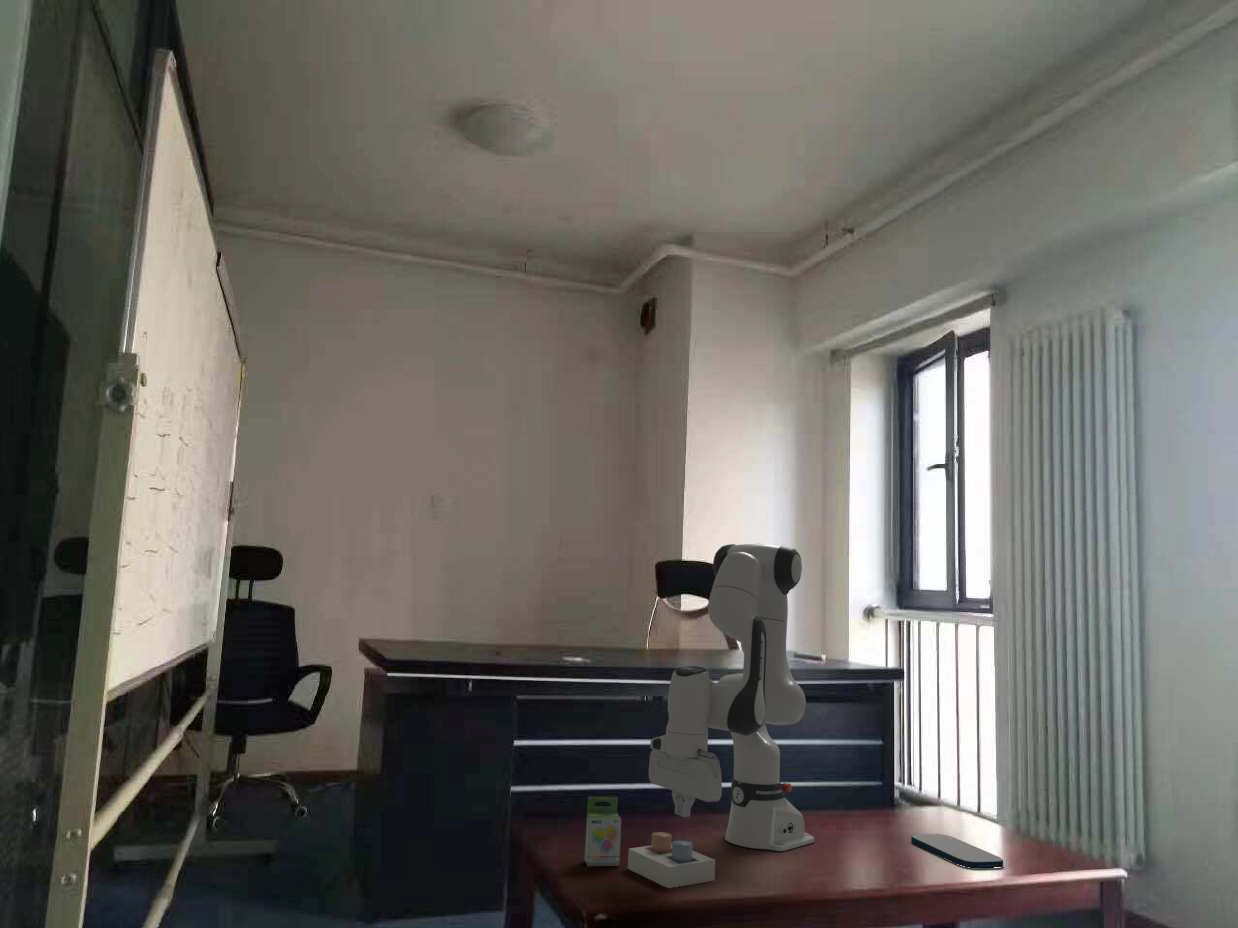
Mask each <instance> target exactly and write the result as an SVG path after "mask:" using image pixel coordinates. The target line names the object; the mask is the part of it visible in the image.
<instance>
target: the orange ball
mask: <svg viewBox="0 0 1238 928" xmlns="http://www.w3.org/2000/svg"><path fill="white" fill-rule="evenodd" d="M672 839H673V838H672V834H671V833H668V832H661V831H657V832H652V834H651V845H650V846H651V851H652V852H654V853H657V854H666V853H671V843H672V842H673V841H672Z"/></svg>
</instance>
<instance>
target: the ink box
mask: <svg viewBox="0 0 1238 928" xmlns="http://www.w3.org/2000/svg"><path fill="white" fill-rule="evenodd" d="M618 801H619V797H618V796H587V809H586V810H587V811H586V824H585V825H586V827H585V828H586V829H585V840H584V842H585V843H584V859H583V860H584V863H585V864H586V866H587V867H619V866H620V863H621V862H620V860H621V859H620V857H621V856H620V855H621V838H622V837H621V836H622V835H621V834H622V818H621V817H620V815H619V814H618ZM600 802H606V803H609V804H610V805H607V806H604V805H603V806H601V805H599V806H598V805H595V804H596V803H597V804H598V803H600Z"/></svg>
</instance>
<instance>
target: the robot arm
mask: <svg viewBox="0 0 1238 928" xmlns="http://www.w3.org/2000/svg"><path fill="white" fill-rule="evenodd" d="M712 563H713V564H712V569H713V570H712V571H713V574H714V576H715V579H714V581H713V584H712V588H711V590H710V591H711V592H710V593H709V598H708V605H707V612H708V617H709V619H710V621H711V623H712V624H713V626H715V628H716V629H718V630H719V631H720V633H721V632H722V633H723V634H724V635H726V636H728V637H729V638H731V639H733V640H736V641H737V642H739V643H740V648H741V651H742V653H743V665H742V666H743V667H742V673H733V674H726V675H723V676H721V677H720V678H719V680H718V681H717V682H714V681H712V680H711V679H710V676H709V670H708V669H707V668H705V667H702V666H696V665H689V666H688V665H687V666H686V665H685V666H681V667H677V668H676V669H675V670H674V671H673V673H672V675H671V679H670V683H669V689H668V690H669V691H668V695H667V696H668V698H667V713H668V722H667V725H666V727H665V729H666V730H665V734H663V735H660V736H657V737H653V738H651V739H650V743H649V744H650V746H649V748H650V749H651V751H650V754H649V763H648V778H649V781H650V783H651V784H653V785H654V786H655V785H656V786H659V787H661V788H664V789H668V790H670V791H671V797H672V800H673V804H674V814H675V815H678V816H680V817H683V818H689V817H690V816H691V808H692V807H693V805H694V803H695V801H696V799H697V800H701V801H703V802H707V803H713V802H718V801H720V800H721V798H722V795H723V783H722V782H723V781H722V780H723V779H722V771H721V766H720V760H719V759H718V757H717V755H716V754H715V753H713V752H709V751H708V745H709V743H708V742H709V729H708V728H710V729H715V730H722V731H728V732H730V733H731V734H730V735H731V739H732V745H733V777H732V778H731V784H730V785H731V786H730V787H731V788H730V789H731V790H730V791H731V792H730V793H731V802H730V803H731V804H730V805H731V806H730V809H729V817H728V818H729V819H728V823H727V828H726V830H725V831H726V832H725V836H724V840H725V841H727V842H728V843H731V844H734V845H737V846H740V847H744V848H750V849H756V850H757V849H759V850H769V851H776V852H785V851H788V850H789V851H790V850H791V849H795V848H799V847H802V846H806V845H810V844H812V843H815V837H814V836H813V835H811V834H809V833H808V832H805V831H806V830H805V821H804V816H803V814H802V813H801V811H799V810H798V809H797V808H796V807H795V806H794V805H793V804H792V803H791V802H790V801H789V800H787V798H786V797H785V792H787V793H791V792H792V790H793V785H792V784H791V783H788V782H783V783H782V782H781V781H780V773H781V771H780V766H781V763H780V761H781V752H780V751H781V750H780V748H779V746H778V744H777V743H776V741H774V740H773V738H772V737H771V736H770V735H769V732H768V729H767V727H766V724H769V725H774V726H786V725H795V724H797V723H798V722H799V721H801V719H802V718H803V716H804V714H805V710H806V709H807V708H806V706H807V700H806V695H805V693H804V691H803V688H802V687H801V686H800V685H799V684H798V683H797V681H796V680H795V678H794V676H793V675H792V672H791V670H790V669H791V668H790V666H789V663H788V659H787V658H788V657H787V633H788V632H787V631H788V618H789V609H788V606H789V604H788V602H789V601H788V594H789V593H790V591H791V590H793V589H794V588H795V587H796V586H797V585H798V584H799V582H800V580H801V576H802V571H803V564H802V558H801V555H800V553H799V552H798V551H797V549H796V548H794V547H791V546H787V545H786V546H785V545H780V546H779V545H775V544H766V543H753V544H752V543H750V544H748V543H747V544H744V543H743V544H734V543H730V544H726V545H722V546H720V548H719V549H718V550H717V551H716V552H715V554H714V557H713V562H712Z"/></svg>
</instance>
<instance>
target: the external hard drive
mask: <svg viewBox="0 0 1238 928" xmlns="http://www.w3.org/2000/svg"><path fill="white" fill-rule="evenodd" d="M910 842H911V844H913V845H915V846H916V847H919V848H920V849H922V848H923V849H922V850H924V851H926V850H927V851H926V852H929V853H931V854H933V855H935V856H937V855H939V856H941V857H943V858H946V859H948V860H950V861H952V862H954V863H956V864H959V865H962V866H965V867H970V868H994V867H1002V866H1003V867H1004V859H1003V858H1001V857H1000V856H997V855H995V854H993V853H991V852H988V851H986V850H984V849H982V848H979V847H977V846H974V845H972V844H970V843H967V842H965V841H963V840H961V839H958V838H957V837H954V836H951V835H948V834H942V833H941V834H940V833H920V834H919V833H917V834H912V835H911V837H910ZM939 856H938V857H939ZM941 857H940V858H941ZM943 858H942V859H943ZM950 861H949V862H950ZM952 862H951V863H952ZM954 863H953V864H954ZM956 864H955V865H956ZM1003 867H1002V868H1003Z"/></svg>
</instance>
